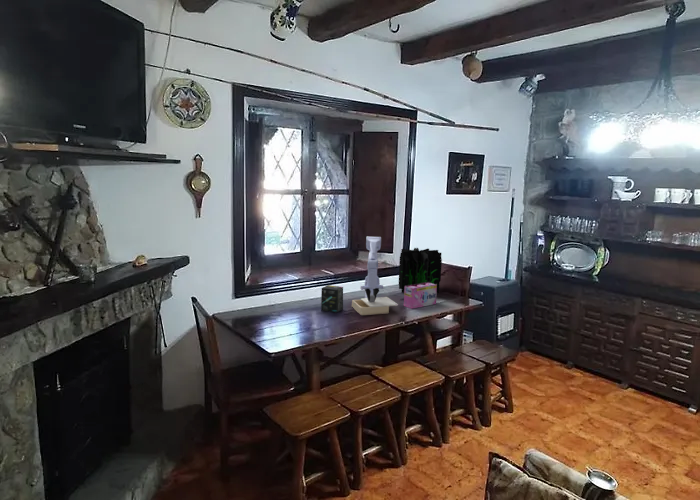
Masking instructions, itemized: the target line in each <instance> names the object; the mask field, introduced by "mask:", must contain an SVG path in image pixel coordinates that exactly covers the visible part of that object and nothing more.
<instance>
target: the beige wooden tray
mask: <svg viewBox="0 0 700 500" xmlns="http://www.w3.org/2000/svg"><path fill="white" fill-rule="evenodd" d="M352 307H353V308H354V309H353V308H352ZM351 308H352V309H353V310H355V312H357V313H358V314H359V315H360V316H371V315H382V314H383V315H384V314H385V315H386V314H389V313H390V312H389V311H390V306H384V307H369V306H368V305H367V304H366V303H364V302H363V301H362V300H361V299H352V300H351Z"/></svg>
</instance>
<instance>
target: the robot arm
mask: <svg viewBox="0 0 700 500" xmlns="http://www.w3.org/2000/svg"><path fill="white" fill-rule="evenodd" d="M381 246H382V237H381V236H368V235H367V236H366V241H365V247H366V250H368V251H369V253H368V260H367V265H366V266H367V276H365V278H364V285H360V289H359V290H361V291H362V290H364V298H368V301H370V295H374V296H375V299H376V297H378V294H379V292H380V289H381V290H383V289H384V285H383V284H380V277H379V276H378V269H379V260H378V257H379V255H378V251H380V250H381Z"/></svg>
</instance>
